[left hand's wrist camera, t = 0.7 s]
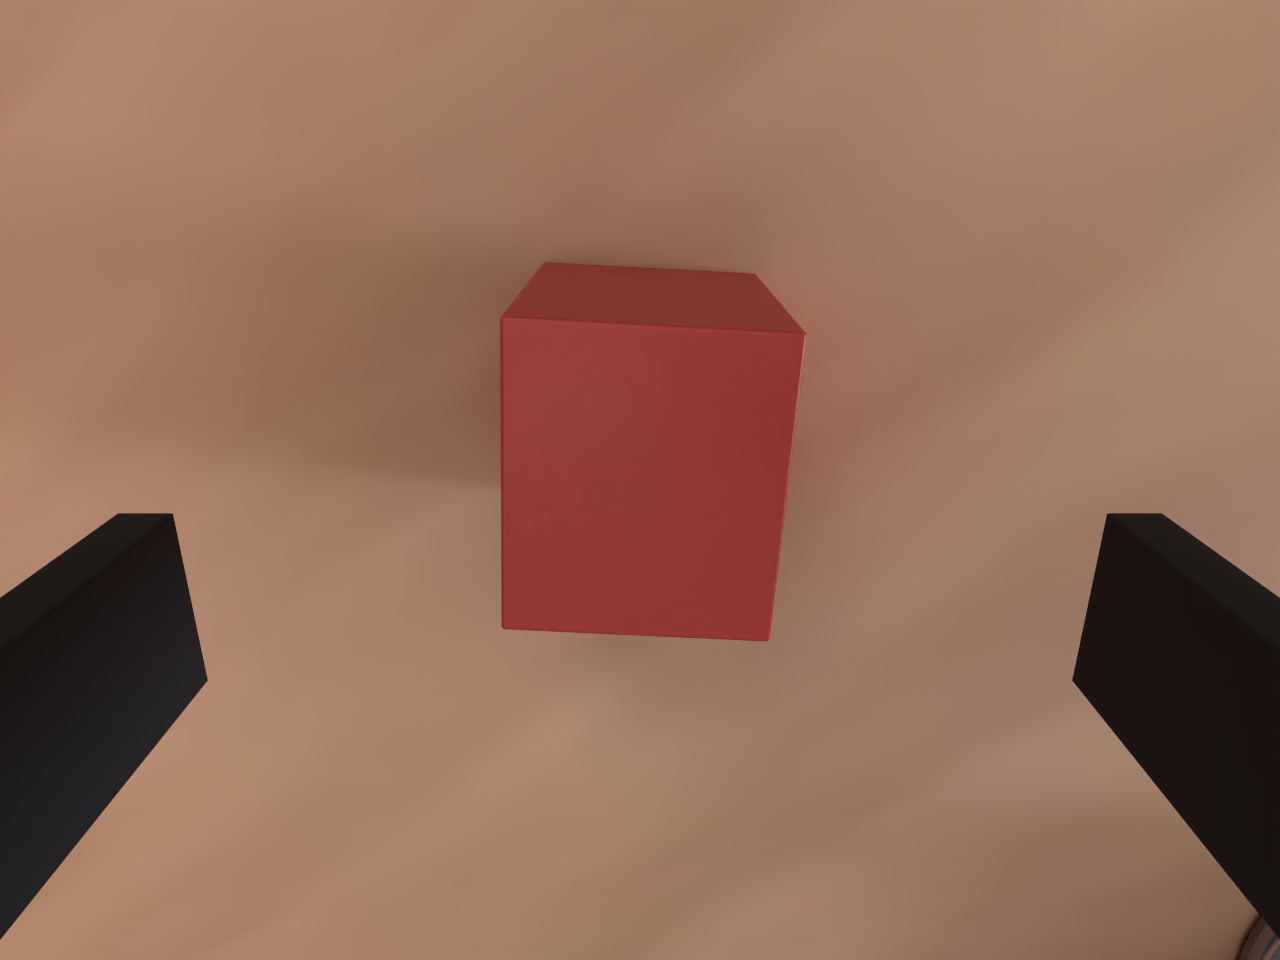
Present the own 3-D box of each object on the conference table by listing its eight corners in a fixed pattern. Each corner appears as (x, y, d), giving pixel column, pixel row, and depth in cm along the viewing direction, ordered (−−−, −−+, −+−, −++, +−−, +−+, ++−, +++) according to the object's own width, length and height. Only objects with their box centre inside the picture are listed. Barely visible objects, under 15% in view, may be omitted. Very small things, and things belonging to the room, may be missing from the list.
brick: (756, 273, 29) (808, 332, 20) (733, 502, 32) (769, 642, 23) (543, 262, 29) (499, 316, 20) (540, 493, 32) (501, 629, 23)
